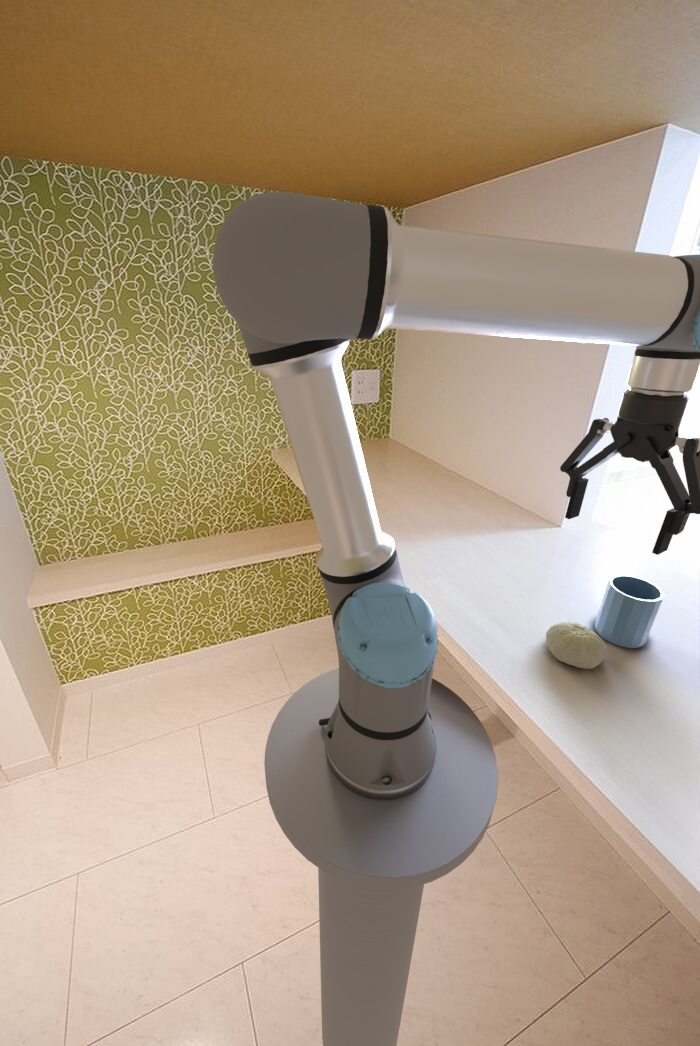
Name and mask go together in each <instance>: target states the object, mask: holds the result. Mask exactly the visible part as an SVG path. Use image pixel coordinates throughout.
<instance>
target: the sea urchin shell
mask: <svg viewBox="0 0 700 1046" xmlns="http://www.w3.org/2000/svg"><path fill="white" fill-rule="evenodd" d="M545 637H546V638H545V642H546V644H547V647H548V650H549V652H550V653H551V654H552V655H553V656H554V658H556V660H558V661H560V662H562V663H565V664H567V665H570V666H574V667H576V668H577V669H578V668H580V669H585V670H589V669H595V668H597V667H598V666H600V665H601V664H602V663H603V661H604V660H605V657H606V655H607V647H606V643H605V641H604V639H603V638H602V636H600V635H599V634H598V633H596V632H595V631H593V630H591V629H589V628H588V627H587V626H584V625H583V624H580V623H578V622H572V621H565V622H558V623H556V624H553V625H551V626H550V627H549V629H548V630H547V631H546V633H545Z"/></svg>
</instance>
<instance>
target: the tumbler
mask: <svg viewBox="0 0 700 1046" xmlns="http://www.w3.org/2000/svg"><path fill="white" fill-rule="evenodd" d="M664 598H665V593H664V591H663V589H661V588H660V587H659V586H658V585H656V584H655V583H653V582H651V581H649V580H647V579H644V578H641V577H639V576H634V575H629V574H616V575H613V576H611V577H610V578H609V579H608V582H607V585H606V587H605V591H604V594H603V598H602V600H601V604H600V606H599V608H598V609H599V610H598V612H597V616H596V619H595V622H594V628H595V631H596V632H597V635H598V636H599V637H601V638H602V639H603V640H606V641H608V642H609V643H611V644H614V645H616V646H619V647H622V648H627V649H638V648H641V647H643V646H644V645H645V644H646V642H647V640H648V637H649V635H650V632H651V630H652V626H653V625H654V622H655V620H656V617H657V615H658V612H659V610H660V607H661V605H662V603H663V599H664Z"/></svg>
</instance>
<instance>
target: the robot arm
mask: <svg viewBox="0 0 700 1046" xmlns="http://www.w3.org/2000/svg"><path fill="white" fill-rule="evenodd" d="M212 254H213V255H212V272H213V277H214V278H213V279H214V282H215V287H216V290H217V292H218V294H219V297H220V300H221V302H222V304H223V305H224V307H225V308H226V310H227V312H228V313H229V315H230V316H231V317H232V319H234V321H235V322H236V323H237V325H238V328H239V332H240V334H241V337H242V341H243V343H244V347H245V349H246V352H247V355H248V359H249V361H250V364H251V368H252V369H253V370H254V371H257V372H258V373H260V374H261V375H263V376H265V377H266V378H267V379H268V380H269V381H270V384H271V387H272V391H273V393H274V397H275V400H276V403H277V406H278V409H279V412H280V415H281V419H282V422H283V425H284V428H285V432H286V435H287V438H288V440H289V444H290V447H291V451H292V455H293V458H294V460H295V464H296V467H297V470H298V474H299V477H300V481H301V482H302V487H303V489H304V492H305V495H306V499H307V501H308V505H309V508H310V511H311V514H312V517H313V521H314V524H315V527H316V531H317V535H318V536H319V540H320V542H321V547H320V549H319V551H317V554H316V558H315V563H316V566H317V569H318V571H319V575H320V578H321V581H322V584H323V587H324V591H325V593H326V596H327V597H326V598H327V600H328V604H329V608H330V614H331V620H332V627H333V632H334V637H335V638H334V639H335V644H336V650H337V658H338V668H339V701H338V703H337V705H336V707H335V709H334V711H333V713H332V716H331V718H326V719H320V720H319V725H320V726H323V725H327V728H326V733H325V752H326V758H327V761H328V764H329V766H330V768H331V770H332V772H333V773H334V775H335V776H336V778H337V779H338V780H339V781H340V782H341V783H342V784H343V785H344V786H345V787H347V788H348V789H350V790H351V791H353V792H355V793H356V794H358V795H361V796H363V797H367V798H370V799H375V800H393V799H398V798H402V797H405V796H407V795H409V794H411V793H413V792H415V791H416V790H417V789H419V788H420V787H421V786H422V785H423V784H424V783H425V782H426V780H427V779H428V777H429V776H430V774H431V772H432V769H433V766H434V762H435V755H436V737H435V733H434V730H433V727H432V725H431V722H430V719H429V717H430V718H431V720H432V717H431V715H430V713H429V712H428V711H427V710H428V703H429V696H430V689H431V682H432V678H433V674H434V670H435V669H434V668H435V661H436V657H437V654H438V648H439V640H438V638H439V635H438V622H437V618H436V615H435V612H434V610H433V608H432V607H431V605H430V604H429V602H428V601H427V600H426V599H425V598H424V597H423V596H421V594H419V593H417V592H411V590H410V588H409V587H407V586H406V583H405V581H404V578H403V573H402V570H401V564H400V561H399V556H398V551H397V547H396V543H395V540H394V538H393V537H392V536H391V534H389V533H387V532H386V531H383V530H382V529H381V526H380V521H379V517H378V513H377V508H376V504H375V500H374V496H373V492H372V491H373V490H372V488H371V487H372V486H371V482H370V479H369V474H368V471H367V466H366V461H365V457H364V454H363V449H362V445H361V440H360V436H359V432H358V428H357V424H356V419H355V416H354V412H353V411H354V410H353V407H352V403H351V397H350V394H349V389H348V386H347V385H348V384H347V382H346V377H345V372H344V368H343V364H342V358H343V356H344V355H345V352H346V350H347V348H348V346H349V344H350V339H352V340H353V339H354V340H367V341H369V340H370V341H375V340H376V339H377V337H379V336H380V335H381V334H382V333H383V332H384V331H386V330H388V329H390V330H403V331H404V330H406V331H407V330H408V331H422V332H433V333H434V332H436V333H449V334H463V335H477V336H479V335H480V336H490V337H491V336H492V337H507V338H518V339H520V338H522V339H532V340H533V339H534V340H547V341H549V340H550V341H562V342H563V341H564V342H574V343H575V342H576V343H580V344H588V343H590V344H592V343H593V344H606V345H619V346H635V350H634V355H633V358H632V359H633V360H632V363H631V365H630V369H629V372H628V375H627V379H626V381H625V385H626V386H627V388H629V389H627V390H625V391H624V392H623V393H622V396H621V400H620V404H619V407H618V409H617V410H618V411H617V418H616V420H615V422H614V421H610V419H609V418H608V417H601V418H595V419H593V421H592V422H591V424H590V427H589V430H588V433H587V434H586V435H585V436H584V438H583V439H582V440H581V441H579V443H578V444H577V446H576V447H575V448H574V449H573V451H572V452H571V453H570V454H569V456H567V458H566V459H565V460H564V461H563V462H562V464H561V465H560V468H559V470H560V472H561V473H565V474H567V475H568V476H569V481H568V485H567V489H566V497H568V498H569V499H568V503H567V508H566V512H565V516H564V518H565V519H568V520H572V519H575V518H577V517H579V516H580V514H581V513H580V512H581V509H582V507H583V502H584V498H585V495H586V491H587V487H588V483H589V478H586V476H587V475H588V474H589V473H591V472H592V471H594V470H596V469H597V468H598V467H600V466H601V465H603V464H604V463H606V462H607V461H609V460H611V459H612V458H613V457H615V456H617V455H620V457H622V458H624V459H625V458H626V459H634V460H635V461H637V462H641V463H646V462H649V465H650V466H651V468H653V469H654V470H655V472H656V475H657V476H658V478H659V481H660V482H661V484H662V486H663V488H664V490H665V493H666V494H667V497H668V499H669V500H670V503H671V505H672V507H673V508H671V509H668V510H666V514H665V516H664V519H663V521H662V524H661V527H660V530H659V533H658V534H657V538H656V539H655V543H654V546H653V549H652V551H651V553H652V554H654V555H656V556H659V555H660V554H662V553H664V552H667V551H668V548H669V546H670V543H671V541H672V539H673V536H677V535H679V534H681V533H683V531H684V530H685V527H686V525H687V522H688V520H689V517H690V515H691V514H695V515H700V435H697V436H683V435H680V433H679V429H680V426H681V425H682V421H683V419H684V416H685V413H686V411H687V407H688V405H689V402H690V397H689V396H688V395H687V394H686V393H689V392H691V391H693V390H694V386H695V384H696V381H697V378H698V375H699V373H700V254H683V255H675V256H671V255H668V254H660V253H651V252H643V251H634V250H625V249H616V248H606V247H598V246H588V245H580V244H571V243H563V242H555V241H546V240H537V239H530V238H529V239H528V238H521V237H519V238H518V237H509V236H501V235H495V234H494V235H493V234H483V233H475V232H466V231H457V230H451V229H450V230H449V229H440V228H432V227H422V226H414V225H403V224H399V223H398V222H397V221H396V219H395V218H394V216H393V215H392V213H391V211H390V210H389V208H388V207H386V206H381V205H373V204H364V203H357V202H352V201H345V200H339V199H335V198H328V197H324V196H323V197H322V196H317V195H309V194H303V193H297V192H289V191H267V192H262V193H259V194H256V195H254V196H251V197H249V198H247V199H245V200H243V201H242V202H239V204H238V205H237V206H235V208H233V209H232V211H230V212H229V213H228V215H227V216H226V218H224V220H223V222H222V225H221V226H220V228H219V230H218V232H217V235H216V239H215V242H214V246H213V253H212ZM609 432H610V435H611V437H612V439H613V441H612V442H611V443H609V444H608V445H606V446H605V447H604V448H603V449H602V450H600V451H599V452H597V453H596V454H595V455H593V456H592V457H591V458H589V459H587V460H586V461H585V462H583V463H582V461H583V460H584V459H585V458H586V457H587V455H588V454H589V453H590V452H591V451H592V450H593V449H594V447H595V446H596V445H597V444H598V443H599V442H600V440H602V438H603V437H604V435H607V434H608V433H609ZM676 446H677V447H678V450H679V451H678V452H680V454H682V464H683V469H684V474H685V480H686V484H687V485H686V486H687V488H686V486H685V484H684V482H683V481H682V478H681V476H680V474H679V472H678V470H677V468H676V466H675V464H674V458H673V456H672V454H671V452H670V450H671V449H672V448H674V447H676ZM581 463H582V464H581Z"/></svg>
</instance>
